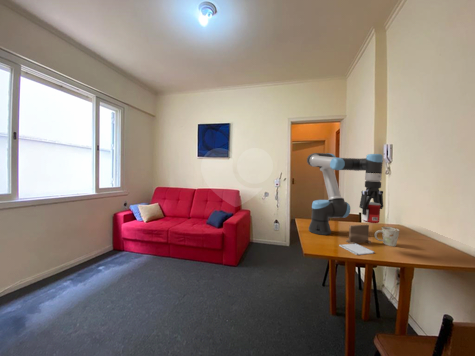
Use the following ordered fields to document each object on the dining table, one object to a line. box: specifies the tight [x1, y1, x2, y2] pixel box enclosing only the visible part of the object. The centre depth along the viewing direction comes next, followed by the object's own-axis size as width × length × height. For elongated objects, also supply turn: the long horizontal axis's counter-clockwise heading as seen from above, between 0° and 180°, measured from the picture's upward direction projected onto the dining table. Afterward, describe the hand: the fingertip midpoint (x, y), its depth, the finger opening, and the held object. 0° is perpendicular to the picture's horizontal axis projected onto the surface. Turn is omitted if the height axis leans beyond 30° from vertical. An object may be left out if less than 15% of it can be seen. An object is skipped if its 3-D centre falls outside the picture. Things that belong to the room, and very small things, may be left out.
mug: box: [374, 226, 400, 247], centre depth 112 cm, size 8×13×10 cm, turn 78°
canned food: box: [362, 201, 381, 224], centre depth 104 cm, size 8×8×11 cm
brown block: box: [345, 224, 372, 244], centre depth 114 cm, size 5×14×11 cm, turn 103°
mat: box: [338, 243, 375, 256], centre depth 103 cm, size 12×12×1 cm
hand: (370, 219), depth 104 cm, fingers closed on canned food, 8 cm apart
